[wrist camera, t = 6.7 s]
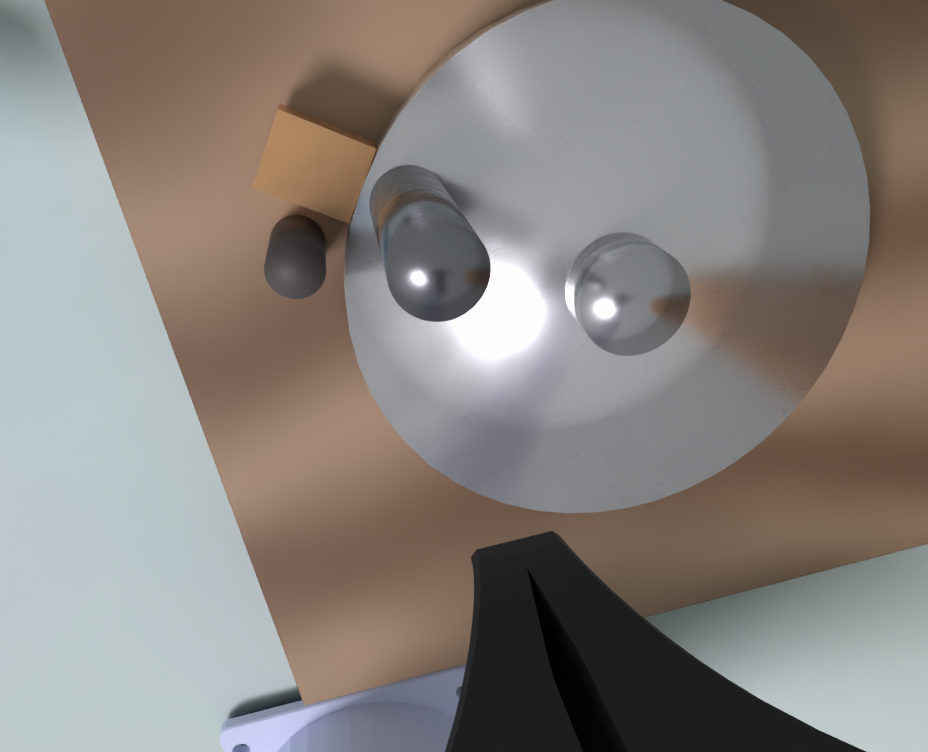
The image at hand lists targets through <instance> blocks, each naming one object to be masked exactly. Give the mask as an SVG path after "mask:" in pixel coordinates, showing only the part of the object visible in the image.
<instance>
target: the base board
mask: <svg viewBox="0 0 928 752" xmlns="http://www.w3.org/2000/svg"><path fill="white" fill-rule="evenodd" d="M541 1H544V0H45V3H46V6H47V8H48V11H49V14H50V17H51V19H52V22H53V25H54V27H55V30H56V33H57V36H58V38H59V41H60V44H61V46H62V49H63V52H64V55H65V57H66V60H67V63H68V65H69V68H70V71H71V74H72V76H73V79H74V82H75V84H76V87H77V90H78V93H79V95H80V98H81V101H82V103H83V106H84V109H85V112H86V114H87V117H88V120H89V122H90V125H91V128H92V131H93V133H94V136H95V139H96V141H97V144H98V147H99V150H100V152H101V155H102V158H103V160H104V163H105V166H106V169H107V171H108V174H109V177H110V179H111V182H112V185H113V188H114V190H115V193H116V196H117V198H118V201H119V204H120V207H121V209H122V212H123V215H124V217H125V220H126V223H127V226H128V228H129V231H130V234H131V236H132V239H133V242H134V245H135V247H136V250H137V253H138V255H139V258H140V261H141V264H142V266H143V269H144V272H145V274H146V277H147V280H148V282H149V285H150V288H151V291H152V293H153V296H154V299H155V301H156V304H157V307H158V310H159V312H160V315H161V318H162V320H163V323H164V326H165V329H166V331H167V334H168V337H169V339H170V342H171V345H172V348H173V350H174V353H175V356H176V358H177V361H178V364H179V367H180V369H181V372H182V375H183V377H184V380H185V383H186V386H187V388H188V391H189V394H190V396H191V399H192V402H193V405H194V407H195V410H196V413H197V415H198V418H199V421H200V424H201V426H202V429H203V432H204V434H205V437H206V440H207V443H208V445H209V448H210V451H211V453H212V456H213V459H214V462H215V464H216V467H217V470H218V472H219V475H220V478H221V481H222V483H223V486H224V489H225V491H226V494H227V497H228V500H229V502H230V505H231V508H232V510H233V513H234V516H235V519H236V521H237V524H238V527H239V529H240V532H241V535H242V538H243V540H244V543H245V546H246V548H247V551H248V554H249V557H250V559H251V562H252V565H253V567H254V570H255V573H256V576H257V578H258V581H259V584H260V586H261V589H262V592H263V595H264V597H265V600H266V603H267V605H268V608H269V611H270V614H271V616H272V619H273V622H274V624H275V627H276V630H277V632H278V635H279V638H280V641H281V643H282V646H283V649H284V651H285V654H286V657H287V660H288V662H289V665H290V668H291V670H292V673H293V676H294V679H295V681H296V684H297V687H298V689H299V692H300V695H301V698H302V700H303V703H304V706H305V705H309V704H312V703H316V702H320V701H324V700H328V699H332V698H336V697H339V696H343V695H347V694H351V693H355V692H359V691H363V690H366V689H370V688H374V687H378V686H382V685H386V684H389V683H393V682H397V681H401V680H405V679H409V678H413V677H416V676H420V675H424V674H428V673H432V672H436V671H440V670H443V669H447V668H451V667H455V666H459V665H463V664H466V663H467V657H468V651H469V644H470V636H471V627H472V618H473V605H474V574H473V566H472V561H471V556H472V555H473V553H474V552H475V551H476V550H477V549H481V548H485V547H489V546H493V545H497V544H501V543H505V542H509V541H513V540H517V539H521V538H525V537H529V536H533V535H537V534H541V533H545V532H549V531H553V532H555V533H557V534H558V535H560V536H561V538H562V539H563V540H564V541H565V542H566V544H567V545H568V546H569V547H570V548H571V549H572V550H573V551H574V553H575V554H576V555H577V556H578V557H579V558H580V559H581V560H582V561H583V562H584V563H585V564H586V565H587V566H588V567H589V568H590V569H591V570H592V571H593V572H594V573H595V574H596V575H597V576H598V577H599V578H600V579H601V580H602V581H603V582H604V583H605V584H606V585H607V586H608V587H609V588H610V589H611V590H612V591H614V592H615V593H616V594H617V595H618V596H619V597H620V598H621V599H623V600H624V601H625V602H626V603H627V604H628V605H629V606H630V607H632V608H633V609H634V610H635V611H636V612H637V613H638V614H640V615H641V616H642V617H643V618H644V617H647V616H651V615H655V614H659V613H663V612H667V611H671V610H674V609H678V608H682V607H686V606H690V605H694V604H697V603H701V602H705V601H709V600H713V599H717V598H721V597H724V596H728V595H732V594H736V593H740V592H744V591H748V590H751V589H755V588H759V587H763V586H767V585H771V584H774V583H778V582H782V581H786V580H790V579H794V578H798V577H801V576H805V575H809V574H813V573H817V572H821V571H825V570H828V569H832V568H836V567H840V566H844V565H848V564H851V563H855V562H859V561H863V560H867V559H871V558H875V557H878V556H882V555H886V554H890V553H894V552H898V551H902V550H905V549H909V548H913V547H917V546H921V545H925V544H928V0H722V1H725V2H727V3H729V4H732V5H734V6H736V7H739V8H741V9H743V10H745V11H748V12H750V13H752V14H754V15H756V16H757V17H759V18H760V19H762V20H763V21H765V22H767V23H768V24H770V25H771V26H773V27H774V28H776V29H777V30H779V31H781V32H782V33H783V34H785V35H786V36H787V37H788V38H789V39H790V40H791V41H792V42H793V43H795V44H796V45H797V46H798V47H799V48H800V49H801V50H802V51H803V52H805V53H806V54H807V55H808V56H809V57H810V58H811V60H812V61H813V62H814V63H815V65H816V66H817V67H818V68H819V70H820V71H821V72H822V73H823V75H824V76H825V77H826V78H827V80H828V81H829V82H830V83H831V85H832V87H833V89H834V90H835V92H836V94H837V96H838V97H839V99H840V101H841V102H842V104H843V106H844V108H845V109H846V111H847V113H848V116H849V118H850V121H851V123H852V126H853V128H854V131H855V134H856V136H857V139H858V141H859V144H860V148H861V152H862V157H863V161H864V165H865V170H866V174H867V181H868V192H869V202H870V228H869V245H868V252H867V258H866V264H865V270H864V276H863V280H862V283H861V287H860V290H859V294H858V297H857V301H856V304H855V308H854V310H853V312H852V315H851V317H850V320H849V322H848V325H847V327H846V330H845V332H844V334H843V337H842V339H841V341H840V343H839V344H838V346H837V348H836V350H835V352H834V354H833V355H832V357H831V359H830V361H829V363H828V365H827V366H826V368H825V369H824V371H823V372H822V374H821V375H820V377H819V378H818V380H817V381H816V382H815V384H814V385H813V387H812V388H811V390H810V391H809V393H808V394H807V395H806V396H805V397H804V399H803V400H802V401H801V402H800V403H799V404H798V406H797V407H796V408H795V409H794V410H793V411H792V413H791V414H790V415H789V416H788V417H787V418H786V419H785V420H784V421H783V422H782V423H781V424H780V425H779V426H778V427H777V428H776V429H775V430H774V431H773V432H772V433H771V434H770V435H769V436H768V437H767V438H765V439H764V440H763V441H762V442H761V443H759V444H758V445H757V446H756V447H754V448H753V449H752V450H750V451H749V452H748V453H747V454H745V455H744V456H743V457H741V458H740V459H739V460H737V461H736V462H734V463H733V464H731V465H729V466H728V467H726V468H725V469H723V470H721V471H720V472H718V473H717V474H715V475H713V476H712V477H710V478H708V479H706V480H704V481H702V482H700V483H698V484H696V485H694V486H692V487H689V488H687V489H685V490H683V491H680V492H678V493H675V494H672V495H670V496H667V497H664V498H662V499H659V500H656V501H652V502H649V503H645V504H641V505H637V506H633V507H629V508H624V509H617V510H610V511H603V512H593V513H558V512H547V511H536V510H532V509H527V508H522V507H518V506H513V505H508V504H505V503H502V502H500V501H497V500H494V499H491V498H488V497H485V496H483V495H480V494H478V493H476V492H474V491H472V490H470V489H468V488H466V487H464V486H462V485H460V484H458V483H456V482H454V481H452V480H451V479H450V478H448V477H447V476H445V475H444V474H442V473H441V472H439V471H438V470H436V469H435V468H434V467H432V466H431V465H429V464H428V463H427V462H426V461H425V460H424V459H423V458H421V457H420V456H419V455H418V454H417V453H416V452H415V451H414V450H413V449H412V448H411V447H409V446H408V445H407V444H406V443H405V441H404V440H403V439H402V438H401V436H400V435H399V434H398V433H397V432H396V430H395V429H394V428H393V427H392V426H391V424H390V423H389V422H388V421H387V419H386V418H385V416H384V414H383V413H382V411H381V409H380V408H379V406H378V404H377V403H376V401H375V400H374V398H373V396H372V395H371V393H370V391H369V388H368V386H367V384H366V381H365V379H364V376H363V374H362V372H361V369H360V367H359V365H358V362H357V358H356V354H355V351H354V347H353V343H352V339H351V336H350V332H349V325H348V317H347V309H346V300H345V291H344V246H345V240H346V233H347V227H348V223H346V222H343V221H341V220H338V219H335V218H332V217H330V216H327V215H324V214H322V213H319V212H316V211H314V210H311V209H308V208H305V207H303V206H300V205H297V204H295V203H292V202H289V201H287V200H284V199H281V198H278V197H276V196H273V195H270V194H268V193H265V192H262V191H260V190H257V189H254V188H252V186H253V183H254V180H255V177H256V174H257V171H258V168H259V165H260V162H261V159H262V156H263V152H264V149H265V146H266V143H267V140H268V137H269V134H270V131H271V128H272V125H273V122H274V119H275V115H276V112H277V109H278V107H279V104H280V103H281V104H283V105H286V106H288V107H291V108H293V109H296V110H298V111H301V112H303V113H306V114H308V115H311V116H313V117H315V118H318V119H320V120H323V121H325V122H328V123H330V124H333V125H335V126H338V127H340V128H343V129H345V130H347V131H350V132H352V133H355V134H357V135H360V136H362V137H365V138H367V139H370V140H372V141H374V144H375V143H376V141H377V139H378V138H379V136H380V135H381V133H382V131H383V130H384V128H385V126H386V125H387V123H388V122H389V120H390V118H391V117H392V115H393V113H394V112H395V110H396V109H397V108H398V106H399V105H400V104H401V103H402V101H403V100H404V99H405V98H406V97H407V95H408V94H409V93H410V92H411V90H412V89H413V88H414V87H415V85H416V84H417V83H418V82H419V81H420V79H421V78H422V77H423V76H425V75H426V74H427V73H428V72H429V71H430V70H431V69H432V68H433V67H434V66H435V65H436V64H437V63H438V62H439V61H440V60H441V59H443V58H444V57H445V56H446V55H447V54H448V53H449V52H450V51H452V50H453V49H454V48H456V47H457V46H459V45H460V44H461V43H463V42H464V41H466V40H467V39H468V38H470V37H471V36H472V35H474V34H475V33H477V32H478V31H479V30H481V29H483V28H484V27H486V26H488V25H490V24H492V23H494V22H496V21H498V20H499V19H501V18H503V17H505V16H507V15H509V14H511V13H513V12H515V11H517V10H519V9H522V8H525V7H528V6H530V5H533V4H536V3H539V2H541Z"/></svg>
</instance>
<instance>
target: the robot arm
mask: <svg viewBox="0 0 928 752" xmlns="http://www.w3.org/2000/svg"><path fill="white" fill-rule="evenodd" d="M471 561H472V566H473V574H474V605H473V618H472V627H471V636H470V644H469V651H468V657H467V663H466V664H463V665H459V666H455V667H451V668H447V669H443V670H440V671H436V672H432V673H428V674H424V675H420V676H416V677H413V678H409V679H405V680H401V681H397V682H393V683H389V684H386V685H382V686H378V687H374V688H370V689H366V690H363V691H359V692H355V693H351V694H347V695H343V696H339V697H336V698H332V699H328V700H324V701H320V702H316V703H312V704H309V705H305V706H304V703H303V700H301V701H297V702H293V703H289V704H285V705H282V706H278V707H274V708H270V709H266V710H262V711H258V712H255V713H251V714H247V715H243V716H239V717H235V718H232V719H230V720H227V721H226V722H225V723H224V724H223V725H222V727H221V730H220V742H221V745H222V747H223V749H224V752H866V751H863V750H861V749H859V748H857V747H854V746H852V745H850V744H848V743H846V742H843V741H841V740H839V739H837V738H835V737H832V736H830V735H828V734H826V733H824V732H821V731H819V730H817V729H815V728H814V727H812V726H810V725H808V724H806V723H804V722H802V721H800V720H798V719H797V718H795V717H793V716H791V715H789V714H787V713H785V712H783V711H781V710H779V709H778V708H776V707H774V706H772V705H770V704H768V703H766V702H764V701H763V700H761V699H759V698H757V697H756V696H754V695H752V694H751V693H749V692H748V691H746V690H744V689H743V688H741V687H739V686H738V685H736V684H734V683H733V682H731V681H729V680H728V679H726V678H725V677H723V676H722V675H720V674H719V673H717V672H716V671H714V670H713V669H711V668H710V667H708V666H707V665H705V664H704V663H702V662H701V661H699V660H698V659H696V658H695V657H694V656H692V655H691V654H689V653H688V652H687V651H685V650H684V649H683V648H681V647H680V646H679V645H677V644H676V643H675V642H673V641H672V640H671V639H669V638H668V637H667V636H666V635H664V634H663V633H662V632H660V631H659V630H658V629H657V628H655V627H654V626H653V625H652V624H650V623H649V622H648V621H647V620H646V619H644V618H643V617H642V616H641V615H640V614H638V613H637V612H636V611H635V610H634V609H633V608H632V607H630V606H629V605H628V604H627V603H626V602H625V601H624V600H623V599H621V598H620V597H619V596H618V595H617V594H616V593H615V592H614V591H612V590H611V589H610V588H609V587H608V586H607V585H606V584H605V583H604V582H603V581H602V580H601V579H600V578H599V577H598V576H597V575H596V574H595V573H594V572H593V571H592V570H591V569H590V568H589V567H588V566H587V565H586V564H585V563H584V562H583V561H582V560H581V559H580V558H579V557H578V556H577V555H576V554H575V553H574V551H573V550H572V549H571V548H570V547H569V546H568V545H567V544H566V542H565V541H564V540H563V539H562V538H561V536H560V535H558V534H557V533H555V532H553V531H549V532H545V533H541V534H537V535H533V536H529V537H525V538H521V539H517V540H513V541H509V542H505V543H501V544H497V545H493V546H489V547H485V548H481V549H477V550H476V551H475V552H474V553H473V555H472V556H471ZM461 686H462V688H461V689H459V687H461ZM238 744H246V745H245V746H239V745H238Z"/></svg>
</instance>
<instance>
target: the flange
mask: <svg viewBox="0 0 928 752" xmlns="http://www.w3.org/2000/svg"><path fill="white" fill-rule="evenodd" d="M252 188H254V189H257V190H260V191H262V192H265V193H268V194H270V195H273V196H276V197H278V198H281V199H284V200H287V201H289V202H292V203H295V204H297V205H300V206H303V207H305V208H308V209H311V210H314V211H316V212H319V213H322V214H324V215H327V216H330V217H332V218H335V219H338V220H341V221H343V222H346V223H348V227H347V233H346V240H345V246H344V291H345V300H346V309H347V317H348V325H349V332H350V336H351V339H352V343H353V347H354V351H355V354H356V358H357V362H358V365H359V367H360V369H361V372H362V374H363V376H364V379H365V381H366V384H367V386H368V388H369V391H370V393H371V395H372V396H373V398H374V400H375V401H376V403H377V404H378V406H379V408H380V409H381V411H382V413H383V414H384V416H385V418H386V419H387V421H388V422H389V423H390V424H391V426H392V427H393V428H394V429H395V430H396V432H397V433H398V434H399V435H400V436H401V438H402V439H403V440H404V441H405V443H406V444H407V445H408V446H409V447H411V448H412V449H413V450H414V451H415V452H416V453H417V454H418V455H419V456H420V457H421V458H423V459H424V460H425V461H426V462H427V463H428V464H429V465H431V466H432V467H434V468H435V469H436V470H438V471H439V472H441V473H442V474H444V475H445V476H447V477H448V478H450V479H451V480H452V481H454V482H456V483H458V484H460V485H462V486H464V487H466V488H468V489H470V490H472V491H474V492H476V493H478V494H480V495H483V496H485V497H488V498H491V499H494V500H497V501H500V502H502V503H505V504H508V505H513V506H518V507H522V508H527V509H532V510H536V511H547V512H558V513H593V512H603V511H610V510H617V509H624V508H629V507H633V506H637V505H641V504H645V503H649V502H652V501H656V500H659V499H662V498H664V497H667V496H670V495H672V494H675V493H678V492H680V491H683V490H685V489H687V488H689V487H692V486H694V485H696V484H698V483H700V482H702V481H704V480H706V479H708V478H710V477H712V476H713V475H715V474H717V473H718V472H720V471H721V470H723V469H725V468H726V467H728V466H729V465H731V464H733V463H734V462H736V461H737V460H739V459H740V458H741V457H743V456H744V455H745V454H747V453H748V452H749V451H750V450H752V449H753V448H754V447H756V446H757V445H758V444H759V443H761V442H762V441H763V440H764V439H765V438H767V437H768V436H769V435H770V434H771V433H772V432H773V431H774V430H775V429H776V428H777V427H778V426H779V425H780V424H781V423H782V422H783V421H784V420H785V419H786V418H787V417H788V416H789V415H790V414H791V413H792V411H793V410H794V409H795V408H796V407H797V406H798V404H799V403H800V402H801V401H802V400H803V399H804V397H805V396H806V395H807V394H808V393H809V391H810V390H811V388H812V387H813V385H814V384H815V382H816V381H817V380H818V378H819V377H820V375H821V374H822V372H823V371H824V369H825V368H826V366H827V365H828V363H829V361H830V359H831V357H832V355H833V354H834V352H835V350H836V348H837V346H838V344H839V343H840V341H841V339H842V337H843V334H844V332H845V330H846V327H847V325H848V322H849V320H850V317H851V315H852V312H853V310H854V308H855V304H856V301H857V297H858V294H859V290H860V287H861V283H862V280H863V276H864V270H865V264H866V258H867V252H868V245H869V228H870V202H869V192H868V181H867V174H866V170H865V165H864V161H863V157H862V152H861V148H860V144H859V141H858V139H857V136H856V134H855V131H854V128H853V126H852V123H851V121H850V118H849V116H848V113H847V111H846V109H845V108H844V106H843V104H842V102H841V101H840V99H839V97H838V96H837V94H836V92H835V90H834V89H833V87H832V85H831V83H830V82H829V81H828V80H827V78H826V77H825V76H824V75H823V73H822V72H821V71H820V70H819V68H818V67H817V66H816V65H815V63H814V62H813V61H812V60H811V58H810V57H809V56H808V55H807V54H806V53H805V52H803V51H802V50H801V49H800V48H799V47H798V46H797V45H796V44H795V43H793V42H792V41H791V40H790V39H789V38H788V37H787V36H786V35H785V34H783V33H782V32H781V31H779V30H777V29H776V28H774V27H773V26H771V25H770V24H768V23H767V22H765V21H763V20H762V19H760V18H759V17H757V16H756V15H754V14H752V13H750V12H748V11H745V10H743V9H741V8H739V7H736V6H734V5H732V4H729V3H727V2H725V1H722V0H544V1H541V2H539V3H536V4H533V5H530V6H528V7H525V8H522V9H519V10H517V11H515V12H513V13H511V14H509V15H507V16H505V17H503V18H501V19H499V20H498V21H496V22H494V23H492V24H490V25H488V26H486V27H484V28H483V29H481V30H479V31H478V32H477V33H475V34H474V35H472V36H471V37H470V38H468V39H467V40H466V41H464V42H463V43H461V44H460V45H459V46H457V47H456V48H454V49H453V50H452V51H450V52H449V53H448V54H447V55H446V56H445V57H444V58H443V59H441V60H440V61H439V62H438V63H437V64H436V65H435V66H434V67H433V68H432V69H431V70H430V71H429V72H428V73H427V74H426V75H425V76H423V77H422V78H421V79H420V81H419V82H418V83H417V84H416V85H415V87H414V88H413V89H412V90H411V92H410V93H409V94H408V95H407V97H406V98H405V99H404V100H403V101H402V103H401V104H400V105H399V106H398V108H397V109H396V110H395V112H394V113H393V115H392V117H391V118H390V120H389V122H388V123H387V125H386V126H385V128H384V130H383V131H382V133H381V135H380V136H379V138H378V139H377V141H376V143H375V144H374V141H372V140H370V139H367V138H365V137H362V136H360V135H357V134H355V133H352V132H350V131H347V130H345V129H343V128H340V127H338V126H335V125H333V124H330V123H328V122H325V121H323V120H320V119H318V118H315V117H313V116H311V115H308V114H306V113H303V112H301V111H298V110H296V109H293V108H291V107H288V106H286V105H283V104H281V103H280V104H279V107H278V109H277V112H276V115H275V119H274V122H273V125H272V128H271V131H270V134H269V137H268V140H267V143H266V146H265V149H264V152H263V156H262V159H261V162H260V165H259V168H258V171H257V174H256V177H255V180H254V183H253V186H252Z"/></svg>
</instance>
